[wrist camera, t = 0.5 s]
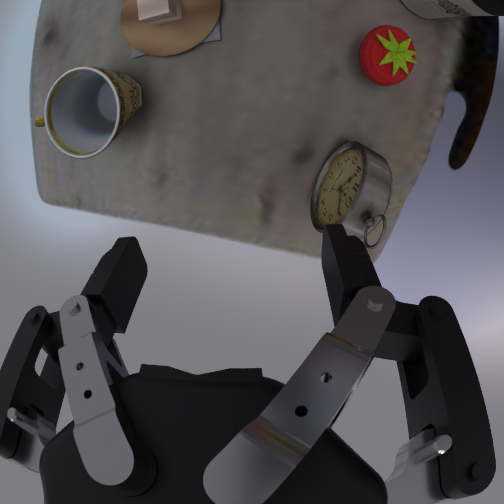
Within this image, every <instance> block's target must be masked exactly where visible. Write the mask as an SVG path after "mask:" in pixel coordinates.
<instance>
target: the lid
mask: <svg viewBox="0 0 504 504" xmlns="http://www.w3.org/2000/svg"><path fill="white" fill-rule="evenodd" d="M220 14H221V0H126V2H125V4H124V6H123V9H122V13H121V29H122V32H123V35H124V37H125V39H126V40H127V41H128V43H129V44H130V45H131V46H132V47H133V48H135V49H136V50H138V51H140V52H142V53H145V54H148V55H153V56H171V55H177V54H180V53H183V52H186V51H188V50H190V49H192V48H194V47H196V46H197V45H199V44H200V43H201V42H202V41H204V40H205V39H206V38H207V37H208V36H209V35H210V33H211V32H212V31H213V30H214V28H215V26H216V25H217V22H218V20H219V17H220Z"/></svg>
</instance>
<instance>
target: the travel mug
mask: <svg viewBox="0 0 504 504" xmlns="http://www.w3.org/2000/svg"><path fill="white" fill-rule="evenodd" d="M401 1H402V3H403V4H404V5H405V6H406V7H407V8H408V9H409V10H410V11H412V12H413V13H414V14H416V15H418V16H420V17H423V18H426V19H437V18H447V17H461V16H504V0H401Z"/></svg>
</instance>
